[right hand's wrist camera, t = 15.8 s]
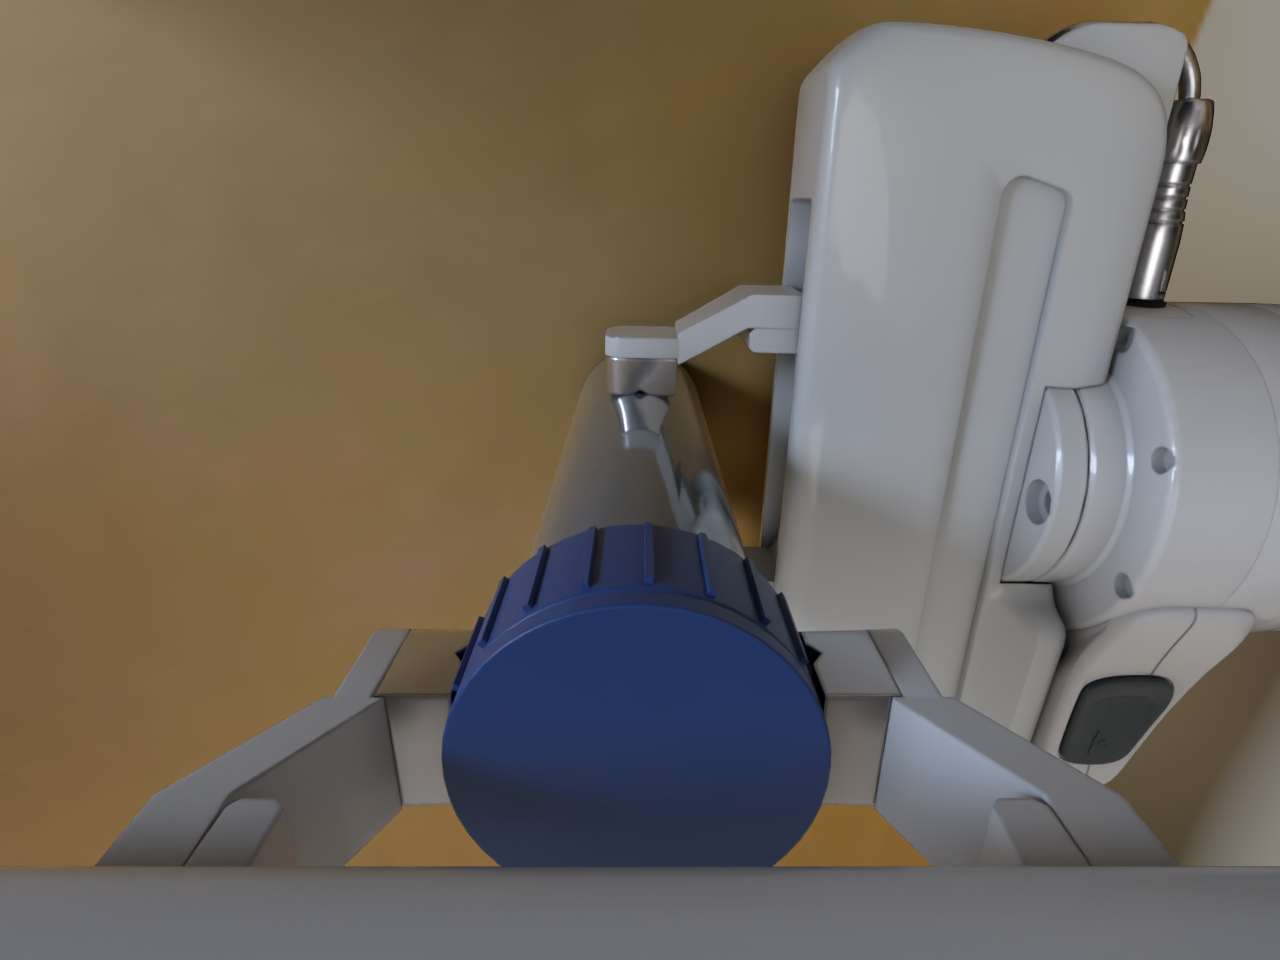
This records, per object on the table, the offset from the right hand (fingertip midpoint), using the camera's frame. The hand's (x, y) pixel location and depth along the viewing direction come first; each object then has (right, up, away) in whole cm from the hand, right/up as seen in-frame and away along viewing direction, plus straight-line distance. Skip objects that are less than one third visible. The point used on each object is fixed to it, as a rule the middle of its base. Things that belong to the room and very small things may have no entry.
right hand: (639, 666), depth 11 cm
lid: (0, -1, -2) cm, 2 cm away
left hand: (-1, +3, +9) cm, 9 cm away
